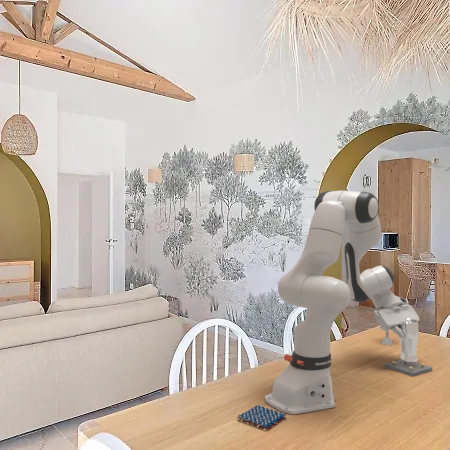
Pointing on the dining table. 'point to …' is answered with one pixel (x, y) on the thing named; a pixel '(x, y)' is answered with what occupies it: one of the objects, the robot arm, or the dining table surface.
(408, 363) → the coaster
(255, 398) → the dining table surface
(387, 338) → the chalice
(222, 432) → the dining table surface
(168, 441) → the dining table surface
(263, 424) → the woven mat
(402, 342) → the beer glass
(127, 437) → the dining table surface
